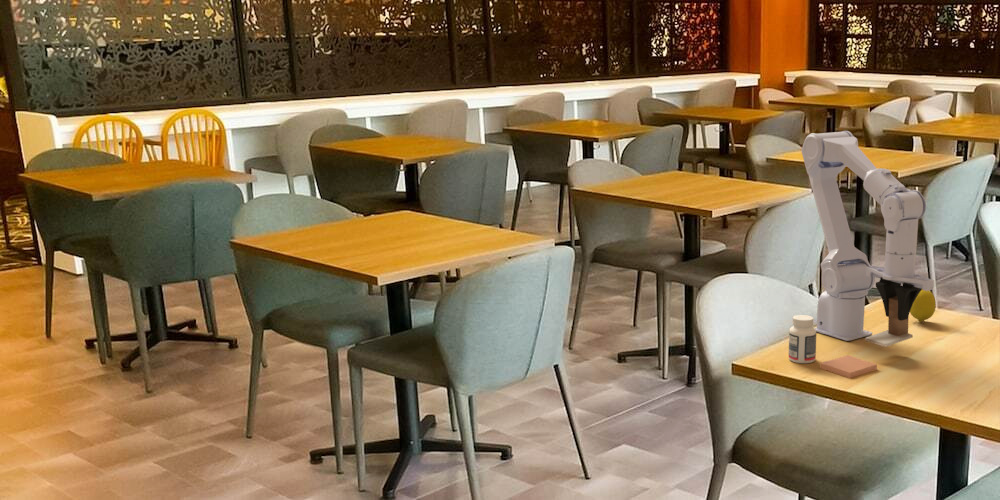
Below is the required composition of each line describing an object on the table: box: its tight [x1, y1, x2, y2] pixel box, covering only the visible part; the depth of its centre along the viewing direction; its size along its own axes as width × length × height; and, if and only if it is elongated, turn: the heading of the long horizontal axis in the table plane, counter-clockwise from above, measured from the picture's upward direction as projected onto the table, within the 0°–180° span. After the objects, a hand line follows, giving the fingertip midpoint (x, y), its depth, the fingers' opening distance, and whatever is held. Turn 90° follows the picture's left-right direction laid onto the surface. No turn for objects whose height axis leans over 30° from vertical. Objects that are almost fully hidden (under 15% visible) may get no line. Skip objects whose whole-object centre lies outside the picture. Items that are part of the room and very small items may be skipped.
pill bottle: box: [788, 314, 817, 364], centre depth 207 cm, size 5×5×9 cm
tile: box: [820, 354, 878, 379], centre depth 202 cm, size 7×2×8 cm
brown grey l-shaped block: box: [864, 296, 913, 348], centre depth 207 cm, size 5×8×8 cm, turn 121°
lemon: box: [909, 289, 937, 323], centre depth 229 cm, size 6×6×8 cm
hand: (896, 317), depth 208 cm, fingers closed on brown grey l-shaped block, 2 cm apart
